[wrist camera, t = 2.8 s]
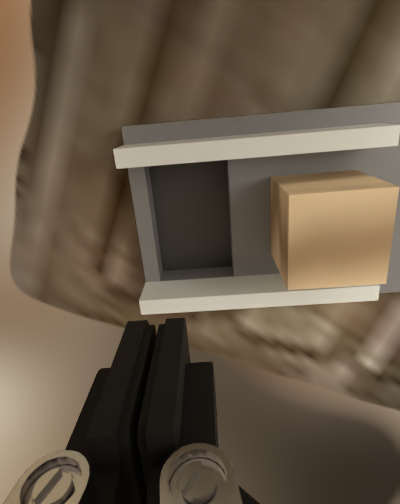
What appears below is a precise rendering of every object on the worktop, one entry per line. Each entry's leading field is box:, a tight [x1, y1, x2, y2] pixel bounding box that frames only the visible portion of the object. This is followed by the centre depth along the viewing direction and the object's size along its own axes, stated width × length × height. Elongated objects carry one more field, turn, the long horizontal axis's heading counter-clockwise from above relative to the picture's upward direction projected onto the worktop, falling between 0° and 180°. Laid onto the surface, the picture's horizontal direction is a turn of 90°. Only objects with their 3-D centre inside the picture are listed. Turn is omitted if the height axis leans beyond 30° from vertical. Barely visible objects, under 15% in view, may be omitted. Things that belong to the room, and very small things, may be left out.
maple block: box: [271, 170, 399, 290], centre depth 19 cm, size 5×5×5 cm
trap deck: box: [113, 102, 400, 315], centre depth 21 cm, size 12×25×4 cm, turn 95°
